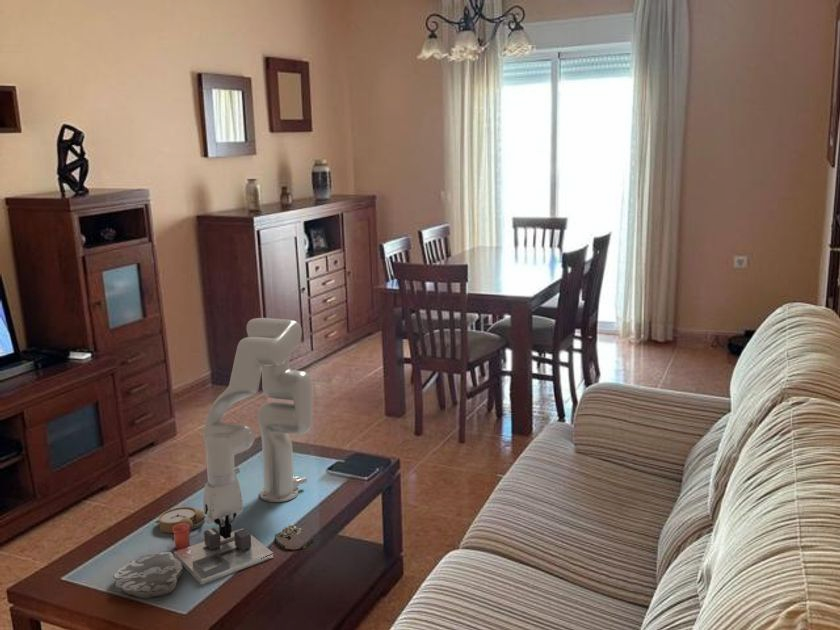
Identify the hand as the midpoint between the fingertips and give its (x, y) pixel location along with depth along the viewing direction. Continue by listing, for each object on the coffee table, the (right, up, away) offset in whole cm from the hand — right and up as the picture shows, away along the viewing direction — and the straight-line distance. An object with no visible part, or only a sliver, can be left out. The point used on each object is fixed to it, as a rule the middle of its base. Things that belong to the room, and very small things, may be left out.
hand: (225, 536), depth 214 cm
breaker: (+6, -2, -3) cm, 7 cm away
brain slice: (-16, -7, -17) cm, 24 cm away
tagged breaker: (-3, -2, -3) cm, 4 cm away
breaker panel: (+1, -4, -5) cm, 7 cm away
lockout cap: (-13, -3, 0) cm, 13 cm away
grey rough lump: (+19, -3, +4) cm, 20 cm away
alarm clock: (-16, -1, +13) cm, 20 cm away
